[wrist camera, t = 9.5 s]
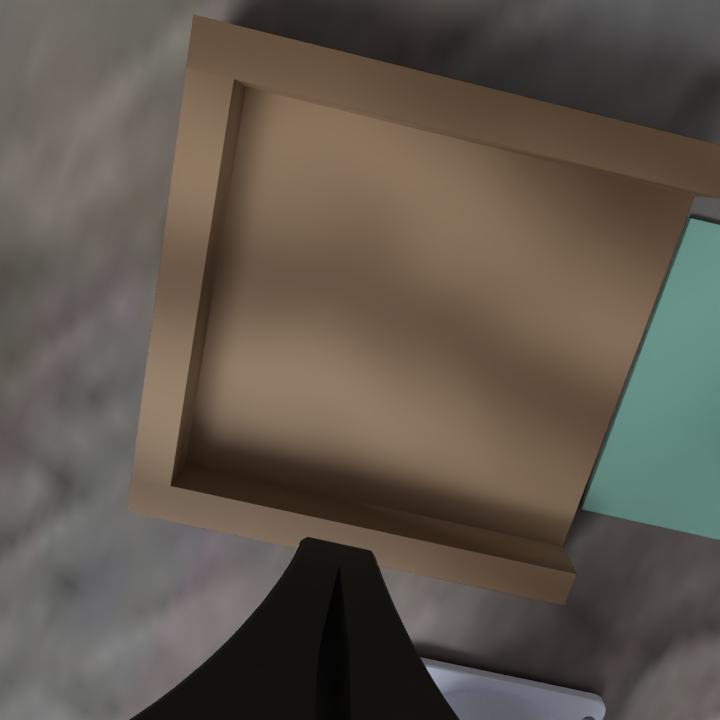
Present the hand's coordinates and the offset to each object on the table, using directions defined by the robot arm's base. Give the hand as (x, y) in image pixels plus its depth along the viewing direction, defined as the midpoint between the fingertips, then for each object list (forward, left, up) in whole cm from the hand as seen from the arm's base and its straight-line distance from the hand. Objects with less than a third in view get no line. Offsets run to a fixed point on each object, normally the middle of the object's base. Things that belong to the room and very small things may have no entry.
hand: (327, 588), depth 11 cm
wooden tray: (+3, -1, -9) cm, 10 cm away
